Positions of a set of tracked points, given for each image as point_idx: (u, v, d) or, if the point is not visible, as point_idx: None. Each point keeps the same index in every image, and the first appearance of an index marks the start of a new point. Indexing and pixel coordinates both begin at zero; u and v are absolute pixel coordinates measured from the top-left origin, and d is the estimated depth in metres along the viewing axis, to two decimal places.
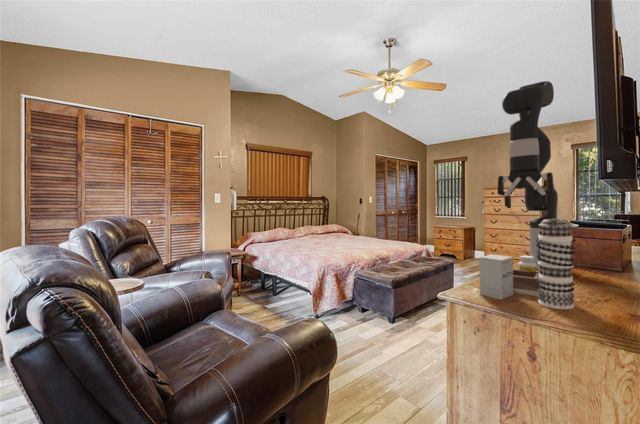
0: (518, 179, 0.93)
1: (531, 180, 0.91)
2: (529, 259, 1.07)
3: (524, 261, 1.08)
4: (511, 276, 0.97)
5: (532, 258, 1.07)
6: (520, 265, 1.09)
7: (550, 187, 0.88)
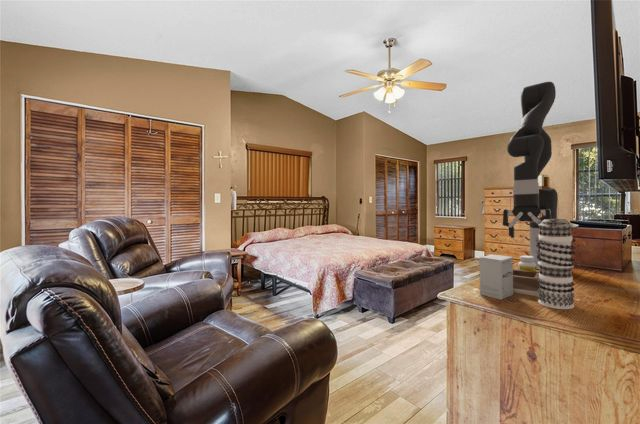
0: (521, 213, 1.07)
1: (532, 215, 1.05)
2: (529, 259, 1.07)
3: (524, 261, 1.08)
4: (511, 276, 0.97)
5: (532, 258, 1.07)
6: (520, 265, 1.09)
7: None
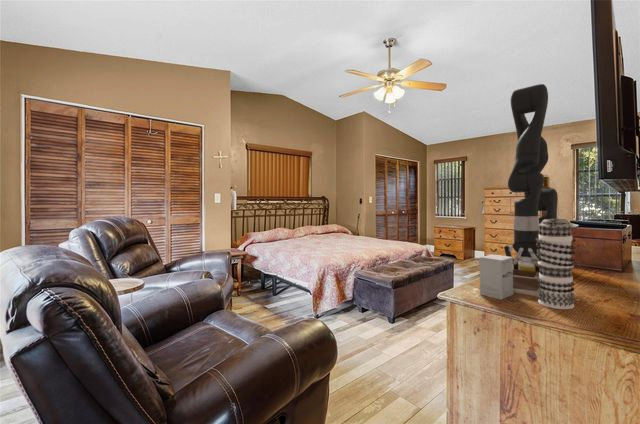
0: (521, 249, 1.08)
1: (532, 251, 1.06)
2: (529, 259, 1.07)
3: (524, 261, 1.08)
4: (511, 276, 0.97)
5: (532, 258, 1.07)
6: (520, 265, 1.09)
7: None
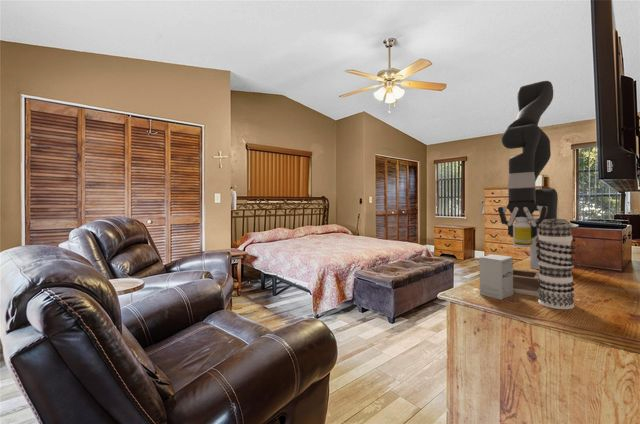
0: (516, 209, 1.01)
1: (527, 210, 0.99)
2: (524, 219, 1.00)
3: (519, 221, 1.01)
4: (511, 276, 0.97)
5: None
6: (515, 226, 1.02)
7: (541, 220, 0.97)
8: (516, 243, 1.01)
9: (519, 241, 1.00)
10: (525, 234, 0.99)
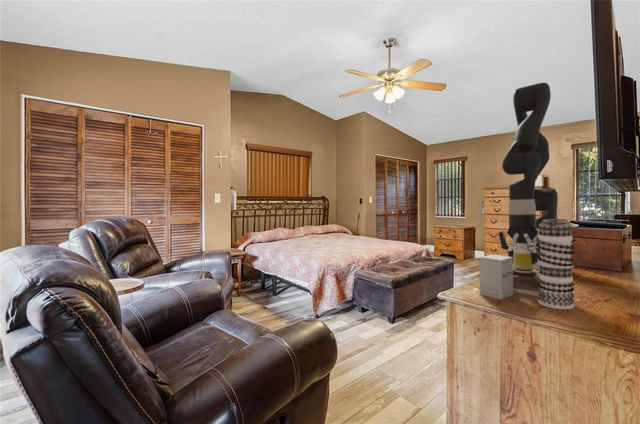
0: (516, 235, 1.01)
1: (528, 237, 0.99)
2: (525, 245, 1.00)
3: (519, 247, 1.01)
4: (511, 276, 0.97)
5: None
6: (515, 252, 1.02)
7: None
8: (517, 269, 1.02)
9: (519, 267, 1.01)
10: (525, 260, 1.00)
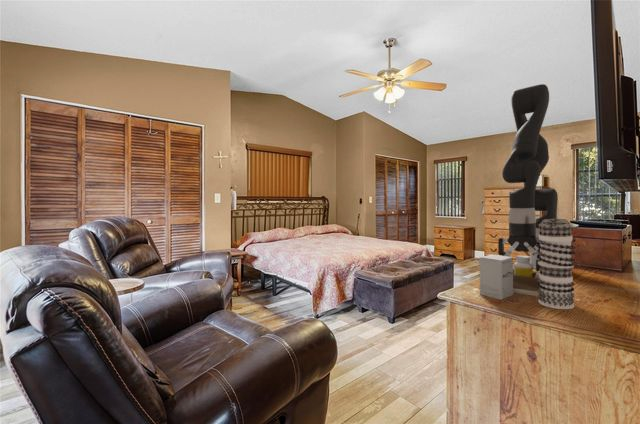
0: (516, 243, 1.02)
1: (528, 245, 0.99)
2: (525, 259, 1.01)
3: (520, 261, 1.02)
4: (511, 276, 0.97)
5: (528, 258, 1.01)
6: (516, 266, 1.02)
7: None
8: None
9: None
10: (526, 275, 1.00)
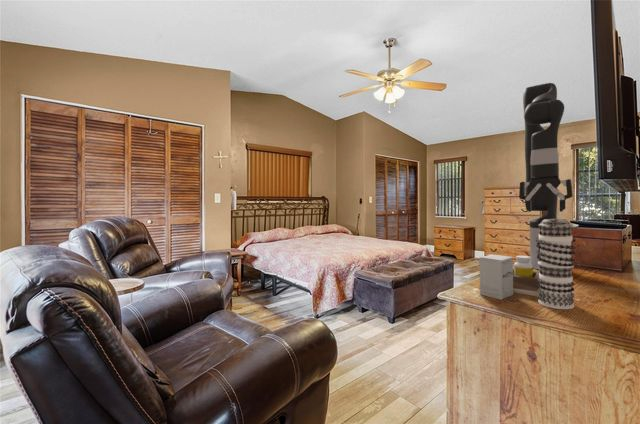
0: (539, 185, 1.01)
1: (551, 186, 0.99)
2: (525, 259, 1.01)
3: (520, 261, 1.02)
4: (511, 276, 0.97)
5: (528, 258, 1.01)
6: (516, 266, 1.02)
7: (569, 193, 0.97)
8: None
9: None
10: (526, 275, 1.00)
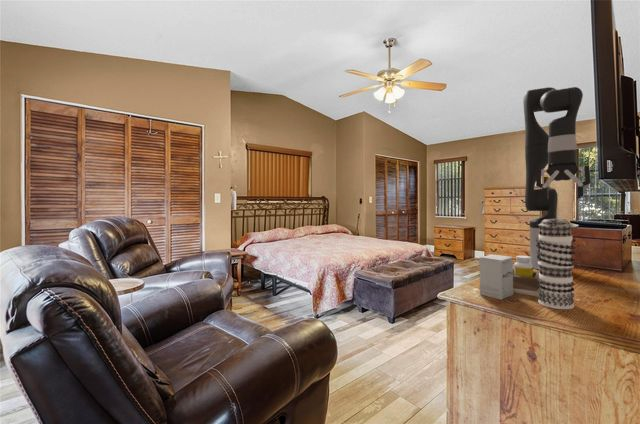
0: (556, 172, 1.01)
1: (569, 172, 0.99)
2: (525, 259, 1.01)
3: (520, 261, 1.02)
4: (511, 276, 0.97)
5: (528, 258, 1.01)
6: (516, 266, 1.02)
7: (587, 179, 0.97)
8: None
9: None
10: (526, 275, 1.00)
